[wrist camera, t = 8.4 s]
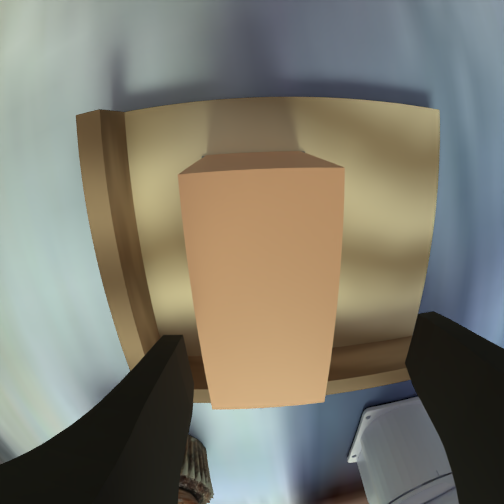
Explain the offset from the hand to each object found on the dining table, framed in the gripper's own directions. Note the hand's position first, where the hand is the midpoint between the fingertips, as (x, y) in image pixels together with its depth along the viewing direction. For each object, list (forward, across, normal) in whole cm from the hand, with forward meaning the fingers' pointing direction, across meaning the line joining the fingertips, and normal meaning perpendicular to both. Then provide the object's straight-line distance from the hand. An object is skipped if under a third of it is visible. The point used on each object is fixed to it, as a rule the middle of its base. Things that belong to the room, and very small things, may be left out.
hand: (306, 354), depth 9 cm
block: (+8, +1, -1) cm, 8 cm away
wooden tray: (+9, 0, 0) cm, 9 cm away
